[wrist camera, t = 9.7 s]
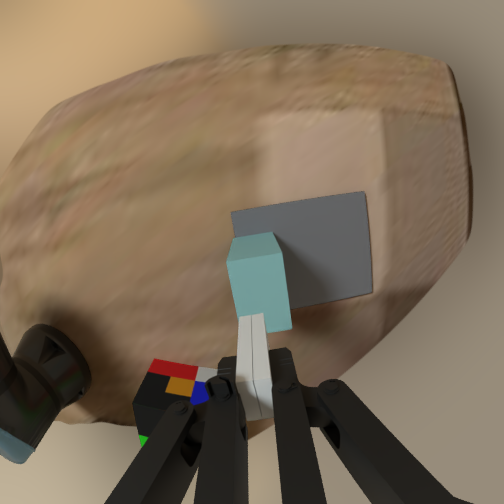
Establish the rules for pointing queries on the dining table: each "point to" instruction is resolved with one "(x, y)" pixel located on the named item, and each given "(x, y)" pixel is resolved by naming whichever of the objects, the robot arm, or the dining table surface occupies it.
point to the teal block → (259, 280)
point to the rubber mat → (317, 245)
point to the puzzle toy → (167, 392)
